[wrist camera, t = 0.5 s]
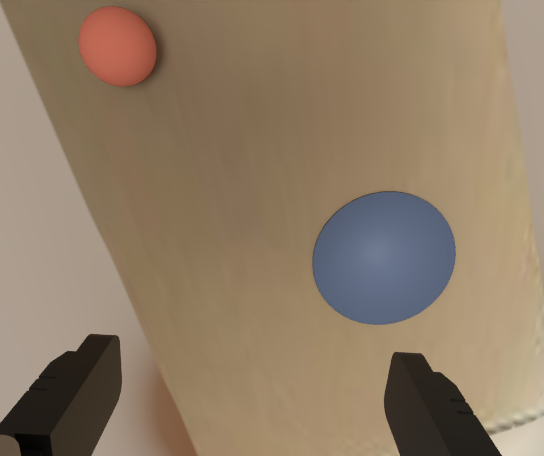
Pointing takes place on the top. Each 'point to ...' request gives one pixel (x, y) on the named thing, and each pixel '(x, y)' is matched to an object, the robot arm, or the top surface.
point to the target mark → (384, 258)
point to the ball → (117, 46)
